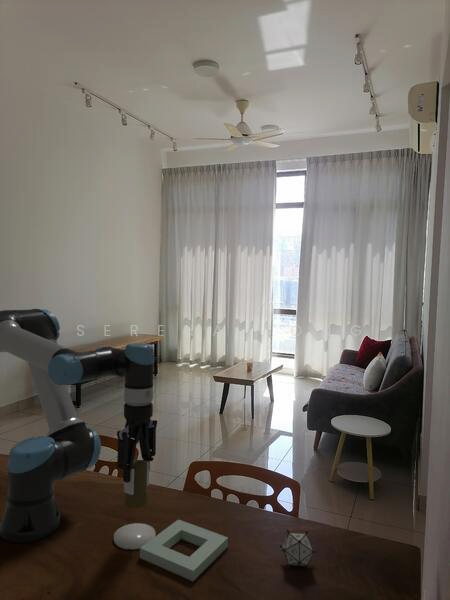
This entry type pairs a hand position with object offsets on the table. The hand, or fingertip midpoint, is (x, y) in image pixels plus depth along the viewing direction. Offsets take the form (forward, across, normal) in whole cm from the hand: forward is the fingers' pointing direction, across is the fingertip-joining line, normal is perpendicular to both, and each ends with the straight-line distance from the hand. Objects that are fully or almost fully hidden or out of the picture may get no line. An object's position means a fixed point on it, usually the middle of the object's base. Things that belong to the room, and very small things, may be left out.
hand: (136, 488), depth 117 cm
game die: (+14, +13, -41) cm, 45 cm away
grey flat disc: (+13, 0, 0) cm, 13 cm away
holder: (+13, +2, -15) cm, 20 cm away
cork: (+4, 0, 0) cm, 4 cm away
